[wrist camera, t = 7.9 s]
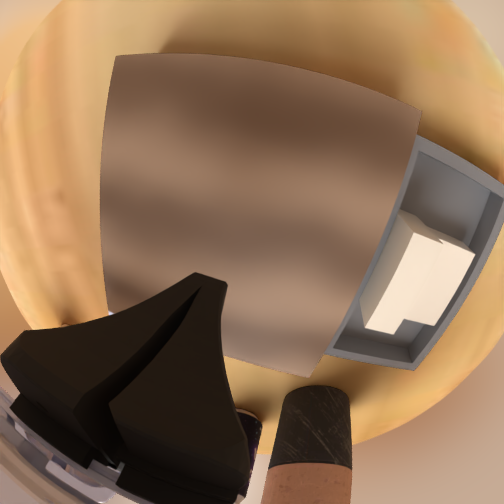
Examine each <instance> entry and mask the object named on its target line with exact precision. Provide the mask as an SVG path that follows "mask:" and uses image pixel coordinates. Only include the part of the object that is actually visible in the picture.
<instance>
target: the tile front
mask: <svg viewBox="0 0 504 504" xmlns="http://www.w3.org/2000/svg"><path fill="white" fill-rule="evenodd" d="M443 246H444V244H443V243H442V242H441V241H440V240H439V239H438V238H437V236H436V235H435V234H434V233H433V232H432V231H431V230H430V229H429V228H428V227H427V226H426V225H425V224H424V223H423V222H422V221H421V220H420V219H419V218H418V217H417V216H416V215H413V214H411V213H408V212H406V211H403V210H401V209H399V211H398V214H397V216H396V219H395V221H394V224H393V226H392V229H391V231H390V234H389V236H388V239H387V241H386V243H385V246H384V248H383V250H382V253H381V255H380V257H379V259H378V262H377V264H376V266H375V268H374V270H373V272H372V275H371V277H370V279H369V281H368V283H367V285H366V287H365V289H364V291H363V293H362V295H361V297H360V299H359V302H360V307H361V311H362V316H363V322H364V327H365V328H368V329H372V330H376V331H380V332H385V333H389V334H394V333H395V331H396V330H397V328H398V327H399V325H400V324H401V322H402V321H403V319H404V318H405V316H406V314H407V313H408V311H409V310H410V308H411V306H412V305H413V303H414V301H415V300H416V298H417V296H418V294H419V293H420V291H421V289H422V287H423V286H424V284H425V282H426V280H427V278H428V276H429V274H430V273H431V271H432V269H433V267H434V265H435V263H436V261H437V259H438V257H439V255H440V253H441V251H442V249H443Z"/></svg>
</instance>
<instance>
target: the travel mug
mask: <svg viewBox="0 0 504 504" xmlns="http://www.w3.org/2000/svg"><path fill="white" fill-rule="evenodd" d="M351 485H352V439H351V419H350V405H349V399H348V397H347V395H346V394H345V393H344V392H342V391H341V390H339V389H336V388H333V387H328V386H308V387H303V388H299V389H296V390H294V391H292V392H291V393H289V394H288V395H287V396H286V397H285V399H284V402H283V406H282V410H281V415H280V419H279V424H278V429H277V433H276V438H275V442H274V447H273V451H272V455H271V459H270V463H269V467H268V472H267V477H266V481H265V486H264V491H263V496H262V500H261V504H350V499H351Z"/></svg>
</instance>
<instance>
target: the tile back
mask: <svg viewBox="0 0 504 504" xmlns="http://www.w3.org/2000/svg"><path fill="white" fill-rule="evenodd" d="M428 228H429V229H430V230H431V231H432V232H433V233H434V234H435V235H436V236H437V238H438V239H439V240H440V241H441V242H442V243H443V244H444V246H443V249H442V251H441V253H440V255H439V257H438V259H437V261H436V263H435V265H434V267H433V269H432V271H431V273H430V274H429V276H428V278H427V280H426V282H425V284H424V286H423V287H422V289H421V291H420V293H419V294H418V296H417V298H416V300H415V301H414V303H413V305H412V306H411V308H410V310H409V311H408V313H407V314H406V316H405V318H404V319H407V320H411V321H416V322H420V323H424V324H428V325H432V326H434V325H435V324H436V322H437V321H438V319H439V318H440V316H441V315H442V313H443V312H444V310H445V308H446V307H447V305H448V304H449V302H450V300H451V299H452V297H453V295H454V293H455V292H456V290H457V288H458V287H459V285H460V283H461V281H462V279H463V277H464V276H465V274H466V272H467V270H468V268H469V266H470V264H471V262H472V260H473V258H474V256H475V253H474V252H473V251H472V250H471V249H470V248H469V247H468V246H466V245H465V244H464V243H463V242H462V241H460V240H458V239H456V238H453V237H451V236H449V235H446V234H444V233H442V232H439V231H437V230H435V229H432V228H430V227H428Z"/></svg>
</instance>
